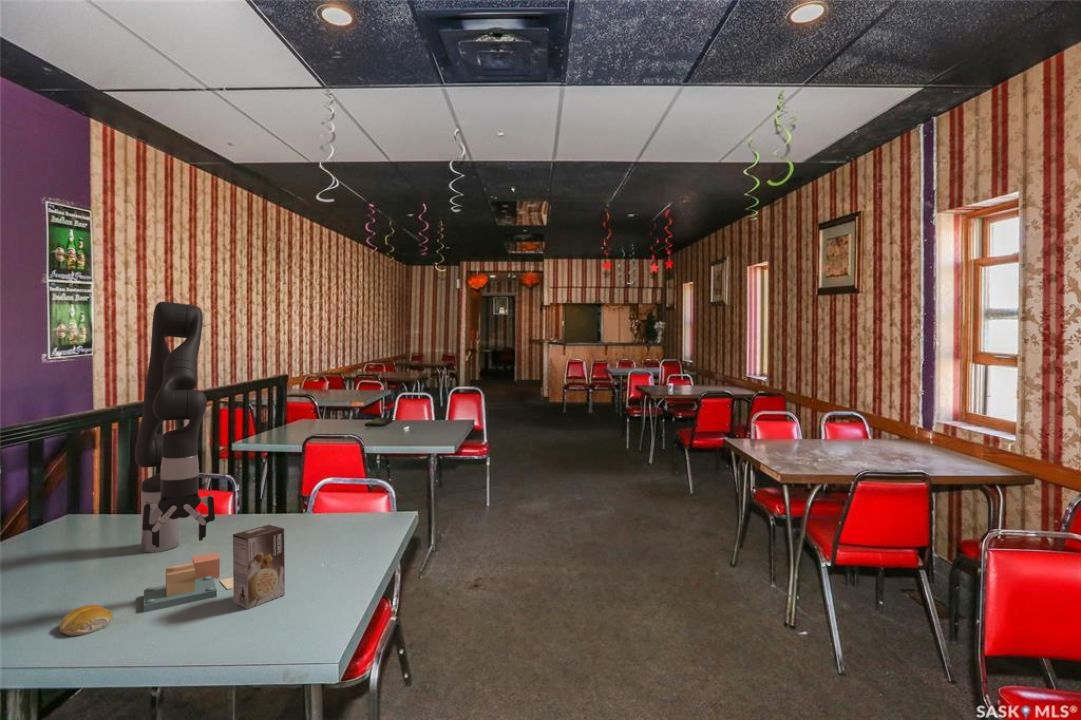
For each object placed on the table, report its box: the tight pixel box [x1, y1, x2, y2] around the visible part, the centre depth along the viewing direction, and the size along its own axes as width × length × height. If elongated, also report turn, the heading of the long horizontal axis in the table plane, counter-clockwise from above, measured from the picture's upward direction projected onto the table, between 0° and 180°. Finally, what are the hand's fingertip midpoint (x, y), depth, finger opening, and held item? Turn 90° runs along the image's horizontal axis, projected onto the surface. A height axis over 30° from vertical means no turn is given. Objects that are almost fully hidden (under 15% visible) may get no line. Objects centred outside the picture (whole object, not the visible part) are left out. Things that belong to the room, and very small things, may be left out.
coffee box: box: [232, 524, 286, 610], centre depth 130 cm, size 9×6×16 cm
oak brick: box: [165, 562, 195, 597], centre depth 131 cm, size 6×6×5 cm
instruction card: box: [219, 576, 233, 591], centre depth 141 cm, size 7×10×1 cm
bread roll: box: [59, 604, 114, 637], centre depth 116 cm, size 8×9×4 cm
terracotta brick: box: [192, 552, 221, 580], centre depth 142 cm, size 6×6×5 cm
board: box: [143, 576, 218, 613], centre depth 131 cm, size 10×14×2 cm
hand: (179, 543), depth 131 cm, fingers open, 8 cm apart
